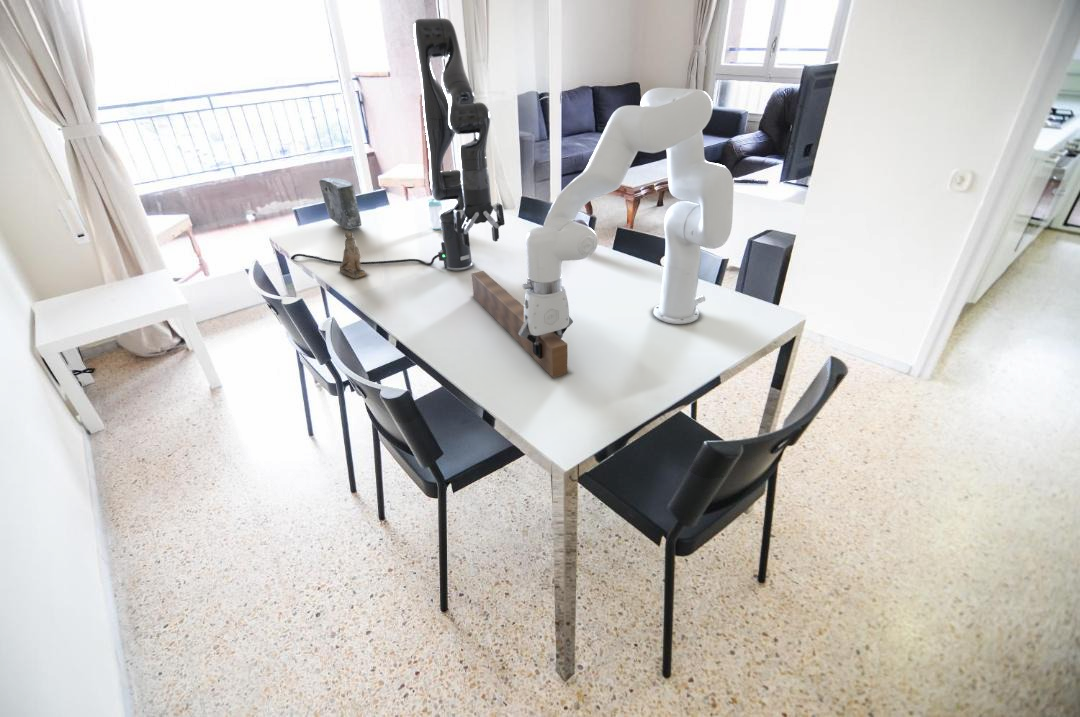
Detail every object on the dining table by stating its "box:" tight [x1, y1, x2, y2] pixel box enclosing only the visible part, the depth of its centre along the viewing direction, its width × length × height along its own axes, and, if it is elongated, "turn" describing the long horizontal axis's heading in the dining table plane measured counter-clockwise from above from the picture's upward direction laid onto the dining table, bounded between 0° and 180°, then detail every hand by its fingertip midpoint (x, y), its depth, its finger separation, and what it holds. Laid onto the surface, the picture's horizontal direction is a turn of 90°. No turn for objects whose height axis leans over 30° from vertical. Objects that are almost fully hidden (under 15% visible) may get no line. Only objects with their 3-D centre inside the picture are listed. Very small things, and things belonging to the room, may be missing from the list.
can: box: [426, 198, 445, 230], centre depth 220 cm, size 7×7×12 cm
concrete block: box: [318, 176, 362, 230], centre depth 224 cm, size 27×9×20 cm, turn 36°
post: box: [470, 270, 569, 379], centre depth 136 cm, size 53×4×8 cm, turn 27°
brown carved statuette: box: [339, 229, 367, 280], centre depth 174 cm, size 12×6×18 cm, turn 43°
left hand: (481, 243), depth 143 cm, fingers open, 8 cm apart
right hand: (547, 352), depth 121 cm, fingers closed on post, 4 cm apart
